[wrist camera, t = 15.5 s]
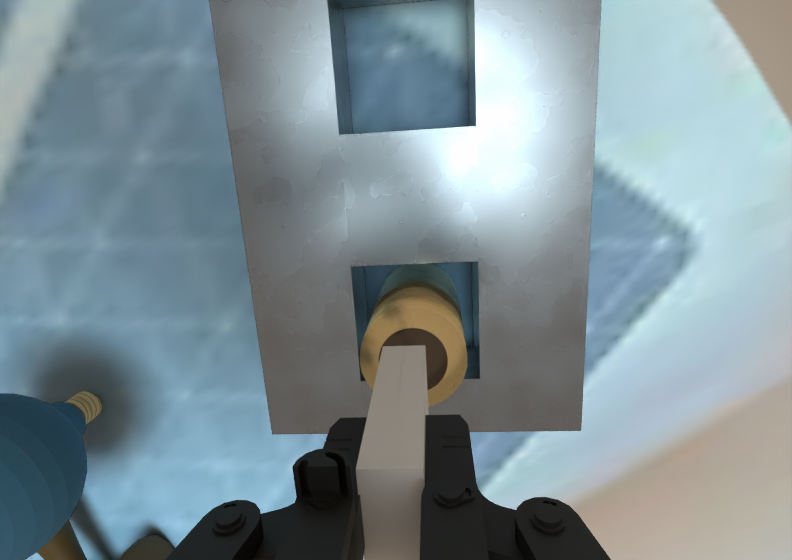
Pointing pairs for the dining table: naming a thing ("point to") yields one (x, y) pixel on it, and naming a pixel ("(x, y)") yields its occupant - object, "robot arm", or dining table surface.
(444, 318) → the bushing
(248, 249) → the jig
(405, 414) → the robot arm
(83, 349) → the dining table surface
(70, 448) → the light bulb
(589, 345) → the dining table surface
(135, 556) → the kendama
